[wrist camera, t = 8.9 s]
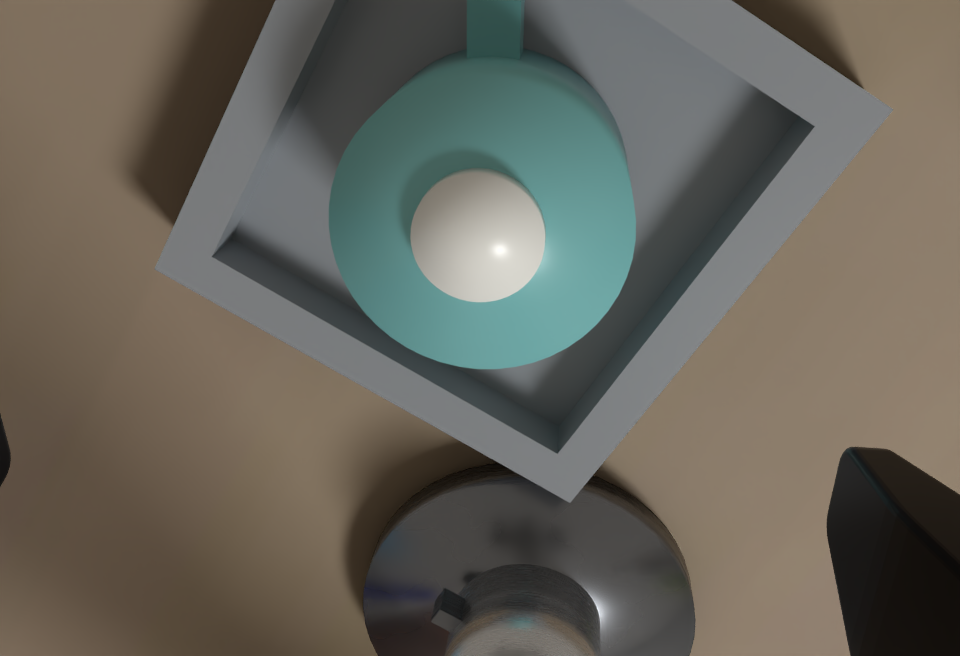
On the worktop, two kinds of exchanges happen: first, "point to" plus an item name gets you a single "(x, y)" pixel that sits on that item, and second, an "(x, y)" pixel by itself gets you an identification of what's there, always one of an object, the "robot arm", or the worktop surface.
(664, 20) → the tray
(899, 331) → the worktop surface
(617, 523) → the round metal saucer
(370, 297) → the teal rounded toy
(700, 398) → the worktop surface
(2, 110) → the worktop surface
